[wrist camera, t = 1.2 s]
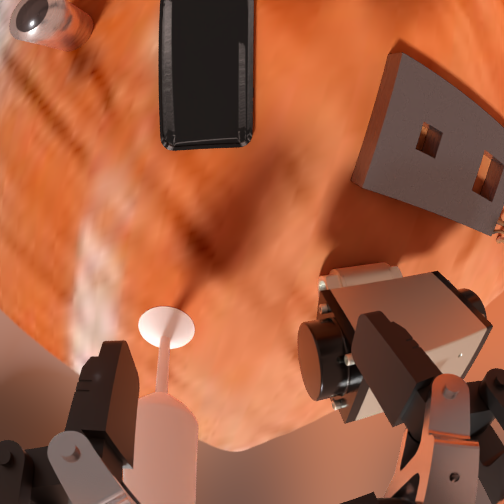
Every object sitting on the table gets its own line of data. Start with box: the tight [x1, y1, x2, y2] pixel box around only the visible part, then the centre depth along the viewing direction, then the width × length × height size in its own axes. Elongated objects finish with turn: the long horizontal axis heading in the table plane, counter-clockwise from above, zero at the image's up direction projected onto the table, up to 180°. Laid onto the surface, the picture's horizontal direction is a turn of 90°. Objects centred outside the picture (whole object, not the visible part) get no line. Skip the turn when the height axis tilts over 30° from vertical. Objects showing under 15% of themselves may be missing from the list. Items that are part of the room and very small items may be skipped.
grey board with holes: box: [351, 52, 504, 236], centre depth 28 cm, size 14×24×2 cm, turn 75°
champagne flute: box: [123, 306, 198, 504], centre depth 23 cm, size 7×7×24 cm
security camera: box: [298, 262, 493, 423], centre depth 27 cm, size 18×8×18 cm, turn 92°
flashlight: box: [9, 0, 93, 51], centre depth 14 cm, size 4×4×8 cm
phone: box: [159, 0, 254, 151], centre depth 22 cm, size 8×1×15 cm
